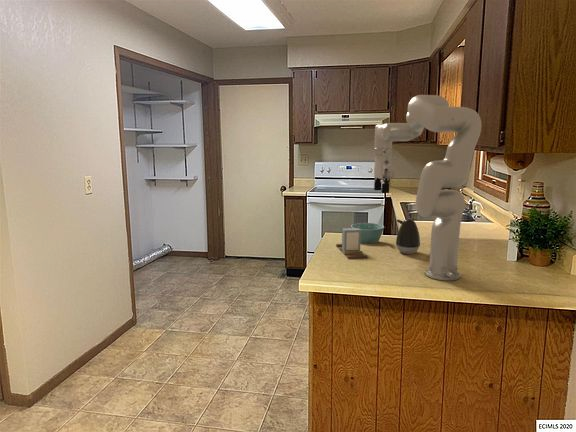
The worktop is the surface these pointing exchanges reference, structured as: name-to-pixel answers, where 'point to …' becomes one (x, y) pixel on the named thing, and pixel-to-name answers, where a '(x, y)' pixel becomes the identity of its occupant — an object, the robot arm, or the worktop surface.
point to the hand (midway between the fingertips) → (381, 191)
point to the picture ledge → (351, 253)
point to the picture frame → (351, 239)
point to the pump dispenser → (408, 237)
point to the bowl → (369, 232)
